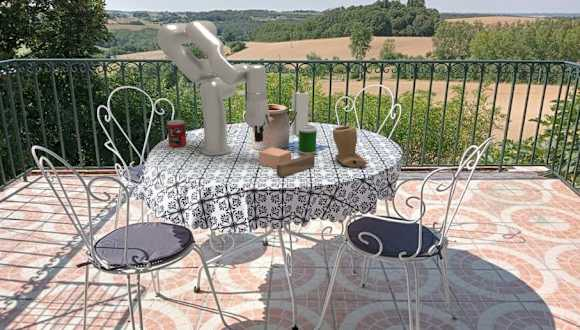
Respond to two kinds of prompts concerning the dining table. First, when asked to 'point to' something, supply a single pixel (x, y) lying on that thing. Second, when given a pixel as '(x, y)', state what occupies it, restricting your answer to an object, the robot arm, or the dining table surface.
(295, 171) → the board
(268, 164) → the brick
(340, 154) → the tan boot-shaped piece
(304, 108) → the paper towel roll
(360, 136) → the dining table surface
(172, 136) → the canned food
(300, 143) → the soda can
